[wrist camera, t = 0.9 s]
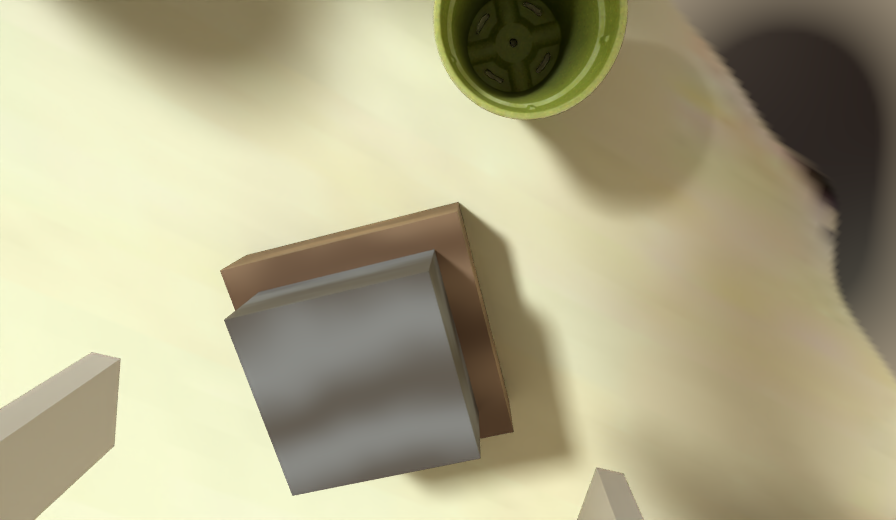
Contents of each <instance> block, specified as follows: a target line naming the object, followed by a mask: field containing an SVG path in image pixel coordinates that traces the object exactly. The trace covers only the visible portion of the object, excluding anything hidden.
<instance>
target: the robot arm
mask: <svg viewBox="0 0 896 520" xmlns="http://www.w3.org/2000/svg"><path fill="white" fill-rule="evenodd" d="M119 373H120V358H115V357H111V356H107V355H102V354H98V353H94V352H91V353H90V354H88V355H86V356H85V357H83V358H82V359H80V360H78V361H77V362H75V363H74V364H72V365H70V366H69V367H67V368H65V369H64V370H62V371H61V372H59V373H57V374H56V375H54V376H53V377H51V378H49V379H48V380H46V381H44V382H43V383H41V384H40V385H38V386H36V387H35V388H33V389H32V390H30V391H28V392H27V393H25V394H23V395H22V396H20V397H19V398H17V399H15V400H14V401H12V402H11V403H9V404H7V405H6V406H4V407H2V408H1V409H0V520H35V519H36V518H37V517H38V516H39V515H40V514H41V513H42V512H43V511H44V510H46V509H47V508H48V507H49V506H50V505H51V504H52V503H53V502H54V501H55V500H56V499H57V498H59V497H60V496H61V495H62V494H63V493H64V492H65V491H66V490H67V489H68V488H69V487H70V486H71V485H73V484H74V483H75V482H76V481H77V480H78V479H79V478H80V477H81V476H82V475H83V474H84V473H86V472H87V471H88V470H89V469H90V468H91V467H92V466H93V465H94V464H95V463H96V462H97V461H99V460H100V459H101V458H102V457H103V456H104V455H105V454H106V453H107V452H108V451H109V450H110V449H111V448H113V447H114V444H115V429H116V415H117V401H118V387H119ZM577 520H644V519H643V516H642V514H641V512H640V510H639V508H638V505H637V503H636V501H635V499H634V496H633V494H632V492H631V490H630V487H629V485H628V483H627V481H626V478H625V476H624V474H623V473H619V472H615V471H610V470H606V469H601V468H597V467H596V470H595V472H594V475H593V478H592V481H591V483H590V486H589V489H588V491H587V494H586V497H585V499H584V502H583V505H582V508H581V510H580V513H579V516H578V518H577Z"/></svg>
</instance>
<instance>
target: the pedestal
mask: <svg viewBox="0 0 896 520" xmlns="http://www.w3.org/2000/svg"><path fill="white" fill-rule="evenodd" d="M220 272H221V274H222V277H223V280H224V282H225V285H226V287H227V290H228V293H229V295H230V298H231V300H232V303H233V306H234V308H235V312H233V313H232V314H231V315H230V316H228V317H227V318H226V319H225V320H224V321H225V324H226V326H227V329H228V331H229V334H230V336H231V339H232V342H233V344H234V347H235V349H236V352H237V354H238V357H239V360H240V362H241V365H242V367H243V370H244V372H245V375H246V378H247V380H248V383H249V385H250V388H251V390H252V393H253V396H254V398H255V401H256V403H257V406H258V408H259V411H260V413H261V416H262V419H263V421H264V424H265V426H266V429H267V431H268V434H269V437H270V439H271V442H272V444H273V447H274V449H275V452H276V455H277V457H278V460H279V462H280V465H281V467H282V470H283V473H284V475H285V478H286V480H287V483H288V485H289V488H290V491H291V493H292V496H294V495H299V494H304V493H309V492H314V491H319V490H324V489H329V488H334V487H339V486H344V485H349V484H354V483H359V482H364V481H369V480H374V479H379V478H384V477H389V476H394V475H399V474H404V473H409V472H414V471H419V470H424V469H429V468H434V467H439V466H444V465H449V464H454V463H459V462H464V461H469V460H474V459H479V458H481V457H480V439H481V438H486V437H490V436H495V435H500V434H505V433H510V432H513V425H512V418H511V412H510V405H509V400H508V396H507V392H506V388H505V384H504V380H503V376H502V372H501V368H500V364H499V360H498V356H497V352H496V348H495V344H494V341H493V337H492V333H491V329H490V325H489V321H488V317H487V313H486V309H485V305H484V301H483V297H482V293H481V289H480V285H479V281H478V278H477V274H476V270H475V266H474V262H473V258H472V254H471V250H470V246H469V242H468V238H467V234H466V230H465V226H464V222H463V218H462V215H461V211H460V207H459V203H458V202H457V203H453V204H449V205H445V206H441V207H437V208H433V209H429V210H425V211H421V212H417V213H413V214H409V215H405V216H401V217H397V218H393V219H389V220H385V221H381V222H377V223H373V224H369V225H365V226H361V227H357V228H353V229H349V230H345V231H341V232H337V233H333V234H329V235H325V236H321V237H317V238H313V239H309V240H305V241H301V242H297V243H293V244H290V245H286V246H282V247H278V248H274V249H270V250H266V251H262V252H258V253H254V254H250V255H246V256H244V257H242V258H241V259H239V260H237V261H236V262H234V263H232V264H231V265H229V266H227V267H225V268H224V269H222V270H220Z"/></svg>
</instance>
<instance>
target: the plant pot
mask: <svg viewBox="0 0 896 520" xmlns="http://www.w3.org/2000/svg"><path fill="white" fill-rule="evenodd" d="M525 2H528V3H531V4H533V5H534V6H536V7H538V8H539V9H540V10H541V13H542V14H541V16H538V15H537V14H535V13H534V12H533V11H532V10H530V9H529V8H527V7H525V6H523V3H525ZM485 14H489V15H490V17H489V19H488V20H487V21H486V23H485V24H484V26H483V27H482V30H481V31H480V33H479V34H477V27H478V24H479V22H480V20H481V18H482V17H483V16H484V15H485ZM627 15H628V1H627V0H435V2H434V14H433V24H434V35H435V41H436V45H437V49H438V53H439V56H440V58H441V61H442V63H443V65H444V67H445V69H446V71H447V73H448V75H449V76H450V78H451V80H452V81H453V82H454V84H455V85H456V86H457V87H458V88H459V90H460V91H461V92H462V93H463V94H464V95H465V96H466V97H468V98H469V99H470V100H471V101H473V102H474V103H475V104H477V105H478V106H480V107H482V108H483V109H485V110H487V111H489V112H491V113H494V114H497V115H500V116H503V117H507V118H512V119H520V120H531V119H540V118H546V117H550V116H553V115H557V114H559V113H562V112H564V111H566V110H568V109H570V108H572V107H574V106H575V105H577V104H578V103H580V102H581V101H583V100H584V99H585V98H586V97H588V96H589V95H590V94H591V93H592V92H593V91H594V90H595V89H596V88H597V87H598V86H599V84H600V83H601V82H602V81H603V80H604V78H605V77H606V75H607V74H608V72H609V71H610V69H611V67H612V66H613V64H614V62H615V60H616V58H617V56H618V53H619V51H620V48H621V45H622V42H623V38H624V34H625V29H626V24H627ZM513 38H514V39H516V40H517V42H518V44H517V46H515V47H512V46H511V45H510V40H511V39H513ZM548 52H549V53H550V60H549V62H548V63H547V65H546V66H545V68H544V69H543V70H542V71H541V72H539V73H537V72H536V69H537V68H538V67H539V65H540V64H541V63H542V61H543V59H544V57H545V55H546V53H548ZM487 69H488V70H490V72H492V73H493V74H495V75H496V76H498V77H500V78H503V80H504V82H502V83H499V82H498V81H496V80H495V79H491V78H489V77H488V76H487V75H486V73H485V71H486V70H487Z"/></svg>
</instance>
